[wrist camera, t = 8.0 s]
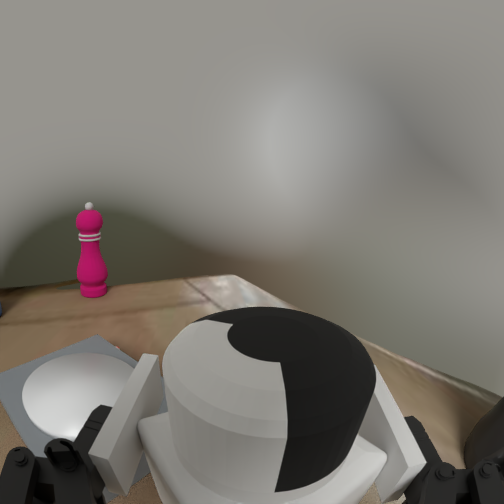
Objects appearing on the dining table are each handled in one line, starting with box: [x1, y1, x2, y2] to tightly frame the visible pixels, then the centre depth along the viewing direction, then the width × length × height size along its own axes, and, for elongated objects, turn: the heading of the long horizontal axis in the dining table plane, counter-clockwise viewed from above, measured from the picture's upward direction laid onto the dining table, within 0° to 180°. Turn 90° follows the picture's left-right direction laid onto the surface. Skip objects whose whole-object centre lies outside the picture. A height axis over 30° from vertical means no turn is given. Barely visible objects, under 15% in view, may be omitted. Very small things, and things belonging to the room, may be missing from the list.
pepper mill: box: [76, 202, 108, 298], centre depth 58 cm, size 7×7×20 cm
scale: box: [0, 334, 168, 503], centre depth 26 cm, size 18×20×5 cm
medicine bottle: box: [137, 307, 387, 504], centre depth 9 cm, size 7×7×12 cm
